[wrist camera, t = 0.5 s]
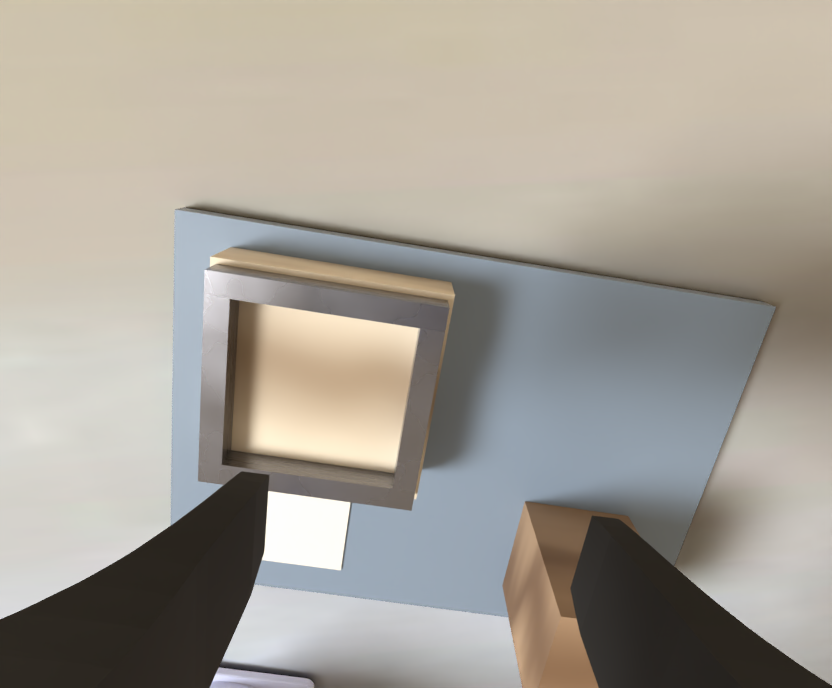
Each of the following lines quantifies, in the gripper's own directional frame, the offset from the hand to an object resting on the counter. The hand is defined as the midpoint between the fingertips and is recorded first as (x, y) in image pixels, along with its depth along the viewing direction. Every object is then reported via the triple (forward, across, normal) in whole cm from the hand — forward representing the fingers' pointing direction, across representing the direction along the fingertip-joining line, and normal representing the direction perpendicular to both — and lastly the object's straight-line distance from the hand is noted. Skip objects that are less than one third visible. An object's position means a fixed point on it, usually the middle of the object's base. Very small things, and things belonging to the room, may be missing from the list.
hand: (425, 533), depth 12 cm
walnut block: (+9, -7, +7) cm, 14 cm away
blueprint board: (+10, -1, +3) cm, 11 cm away
